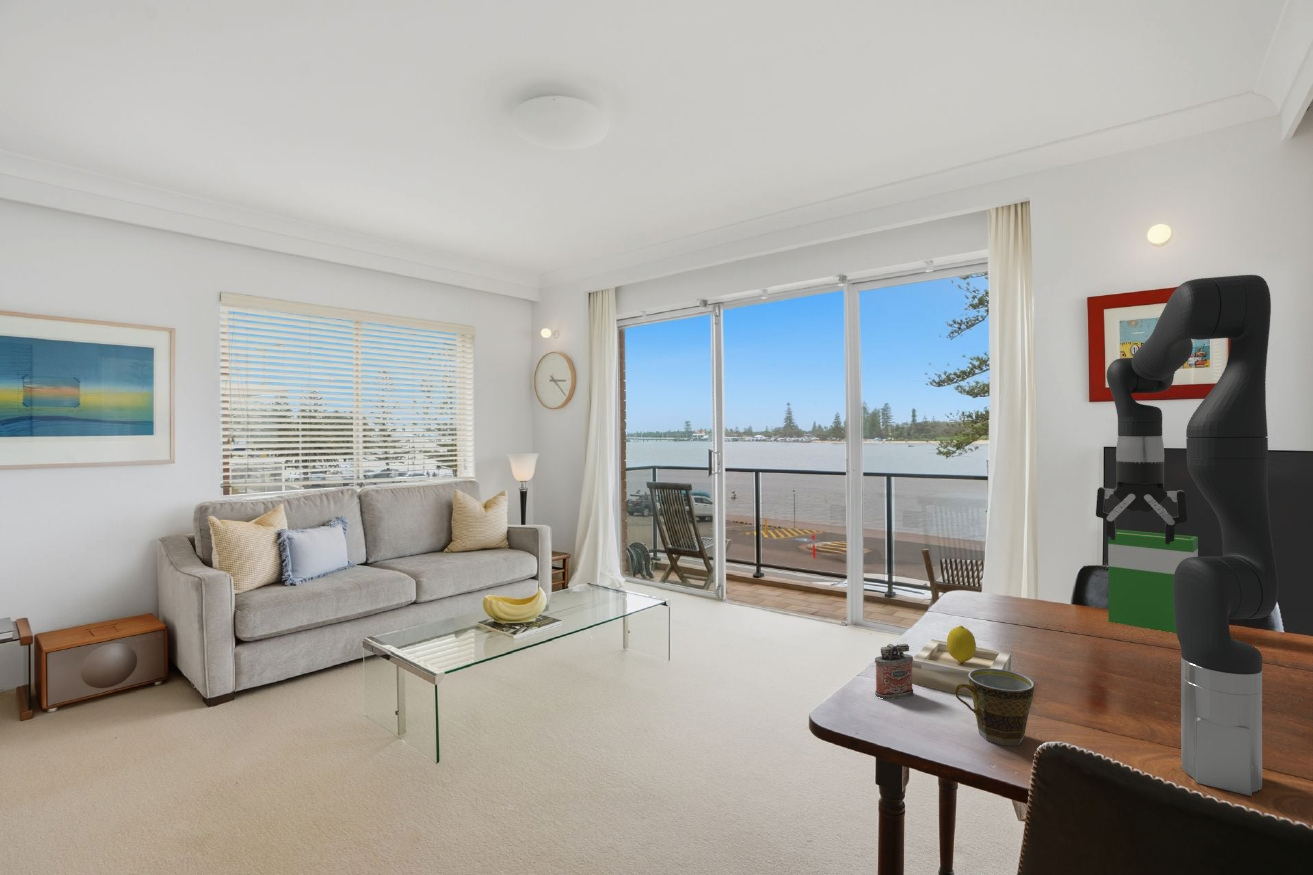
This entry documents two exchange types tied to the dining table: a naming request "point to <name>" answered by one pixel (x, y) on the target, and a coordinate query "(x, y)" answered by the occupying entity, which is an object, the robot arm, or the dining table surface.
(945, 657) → the birch base
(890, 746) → the dining table surface
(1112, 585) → the green striped box
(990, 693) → the ceramic cup
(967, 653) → the lemon
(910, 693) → the lighter
